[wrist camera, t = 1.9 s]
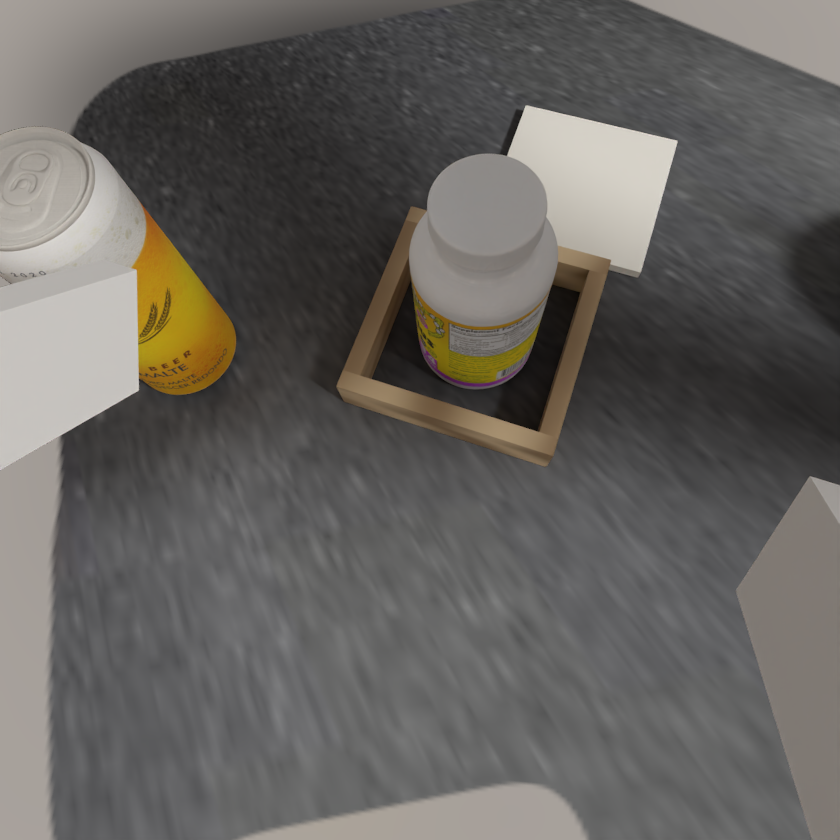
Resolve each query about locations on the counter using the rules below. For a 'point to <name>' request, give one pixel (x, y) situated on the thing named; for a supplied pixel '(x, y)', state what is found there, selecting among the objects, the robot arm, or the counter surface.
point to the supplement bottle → (482, 270)
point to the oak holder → (449, 419)
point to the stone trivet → (596, 183)
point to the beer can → (108, 252)
